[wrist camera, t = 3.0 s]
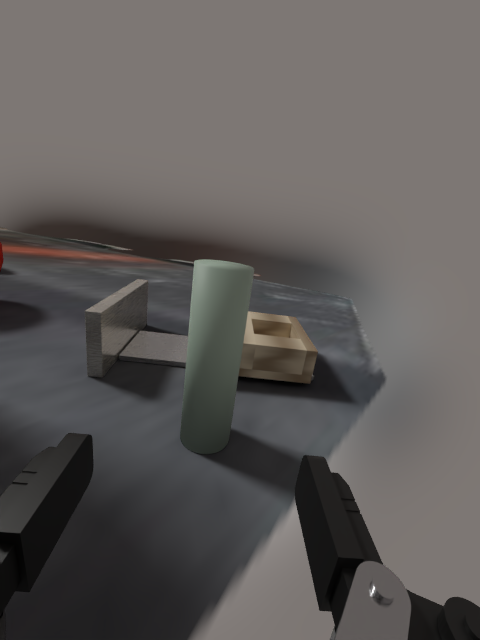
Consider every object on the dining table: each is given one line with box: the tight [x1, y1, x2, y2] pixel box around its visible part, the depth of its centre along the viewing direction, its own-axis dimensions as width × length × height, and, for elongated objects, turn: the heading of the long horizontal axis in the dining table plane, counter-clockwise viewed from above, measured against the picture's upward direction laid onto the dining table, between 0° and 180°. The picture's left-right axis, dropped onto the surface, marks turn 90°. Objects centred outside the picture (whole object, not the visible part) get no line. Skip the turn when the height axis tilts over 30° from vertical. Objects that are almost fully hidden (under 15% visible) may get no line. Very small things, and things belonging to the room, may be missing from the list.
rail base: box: [85, 279, 314, 381], centre depth 37 cm, size 25×16×7 cm, turn 91°
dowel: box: [180, 260, 254, 454], centre depth 22 cm, size 4×4×14 cm
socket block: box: [239, 312, 318, 384], centre depth 37 cm, size 14×12×4 cm
